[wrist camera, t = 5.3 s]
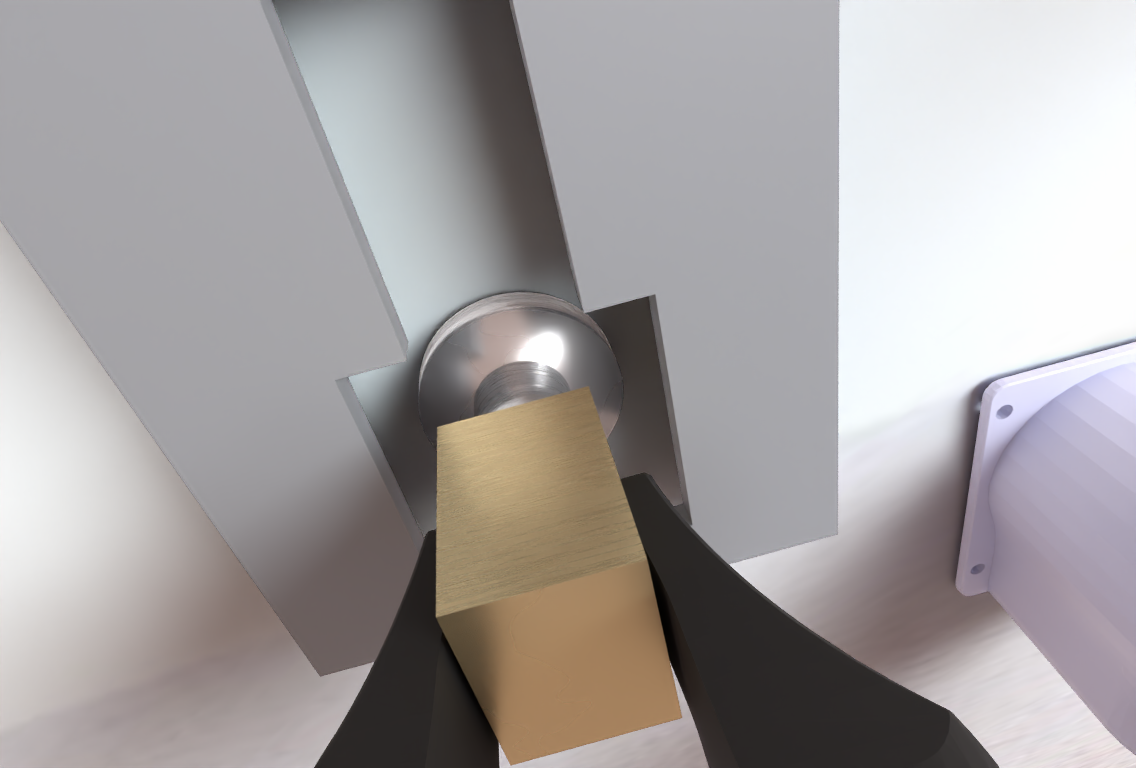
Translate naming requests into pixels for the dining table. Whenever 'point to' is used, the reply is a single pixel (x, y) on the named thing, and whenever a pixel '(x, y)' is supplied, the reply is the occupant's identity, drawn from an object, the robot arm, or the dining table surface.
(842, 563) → the dining table surface
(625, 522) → the keyhole peg
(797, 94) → the keyhole board
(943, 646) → the dining table surface
